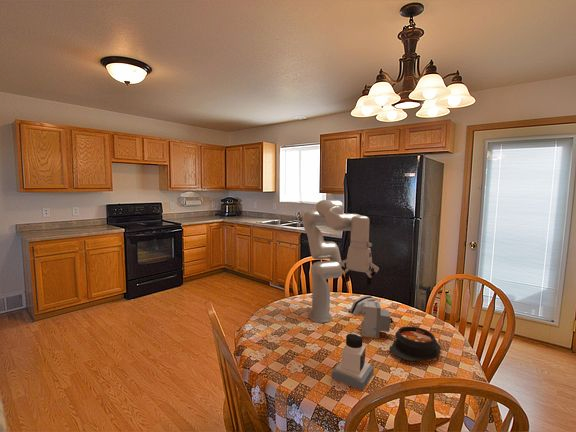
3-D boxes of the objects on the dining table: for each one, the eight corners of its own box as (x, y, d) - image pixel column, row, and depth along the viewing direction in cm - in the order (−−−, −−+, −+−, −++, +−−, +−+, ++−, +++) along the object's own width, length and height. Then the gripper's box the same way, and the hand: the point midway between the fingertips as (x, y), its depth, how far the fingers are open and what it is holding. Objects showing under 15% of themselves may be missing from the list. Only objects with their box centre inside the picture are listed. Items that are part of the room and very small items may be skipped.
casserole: (414, 335, 146) (415, 319, 146) (451, 354, 131) (453, 335, 130) (378, 350, 133) (379, 331, 132) (415, 372, 118) (417, 351, 117)
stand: (331, 378, 113) (332, 368, 112) (344, 363, 123) (344, 353, 122) (362, 390, 106) (363, 380, 106) (373, 373, 116) (374, 363, 116)
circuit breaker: (392, 339, 142) (394, 309, 141) (361, 336, 145) (363, 306, 144) (390, 332, 150) (392, 303, 148) (361, 329, 153) (362, 300, 151)
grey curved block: (366, 305, 184) (371, 291, 180) (372, 310, 180) (377, 296, 177) (347, 311, 174) (352, 297, 170) (353, 317, 170) (358, 302, 167)
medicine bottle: (360, 373, 109) (361, 342, 108) (341, 368, 113) (342, 337, 112) (364, 363, 116) (366, 333, 115) (346, 358, 119) (347, 329, 118)
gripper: (382, 245, 126) (380, 285, 128) (344, 241, 136) (342, 277, 138) (376, 248, 120) (375, 290, 122) (337, 243, 130) (335, 282, 131)
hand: (358, 283), depth 130 cm, fingers open, 9 cm apart
